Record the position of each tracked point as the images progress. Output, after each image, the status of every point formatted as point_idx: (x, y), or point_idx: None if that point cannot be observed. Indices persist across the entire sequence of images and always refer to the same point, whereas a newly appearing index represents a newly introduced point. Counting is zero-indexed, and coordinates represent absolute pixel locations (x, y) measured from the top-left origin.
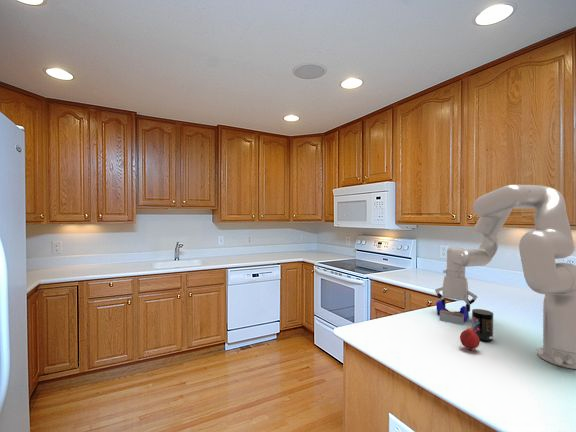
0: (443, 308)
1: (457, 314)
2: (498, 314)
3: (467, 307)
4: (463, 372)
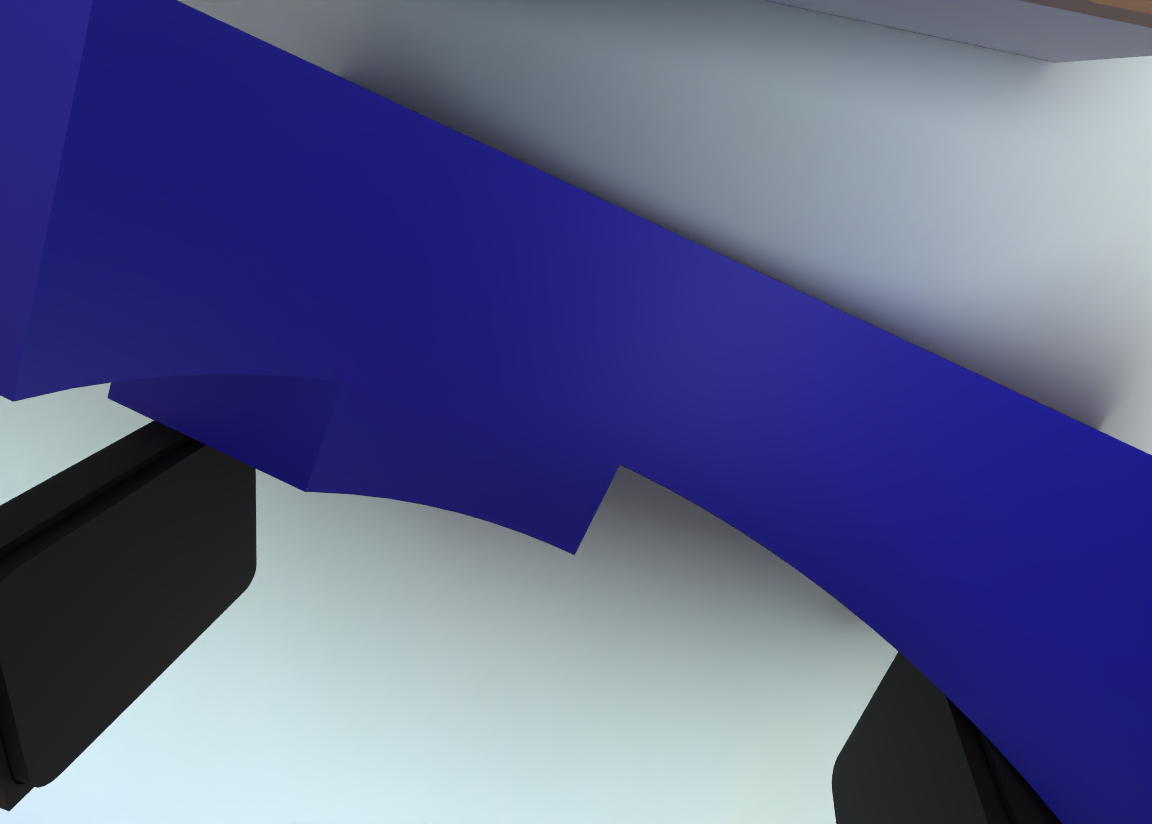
0: (977, 532)
1: None
2: None
3: (22, 519)
4: None
